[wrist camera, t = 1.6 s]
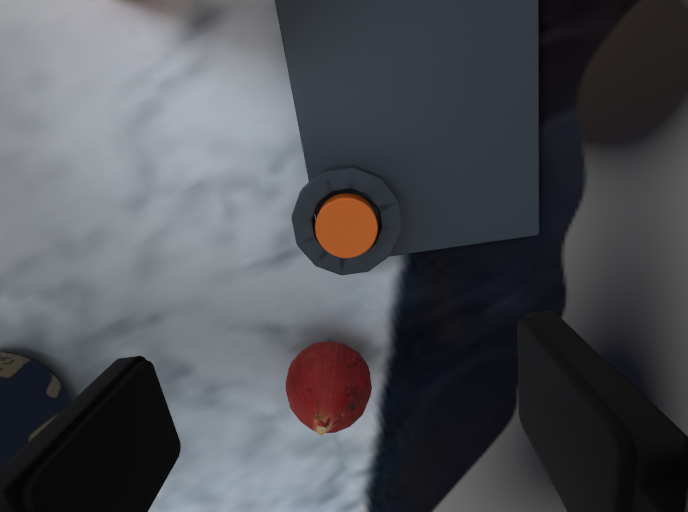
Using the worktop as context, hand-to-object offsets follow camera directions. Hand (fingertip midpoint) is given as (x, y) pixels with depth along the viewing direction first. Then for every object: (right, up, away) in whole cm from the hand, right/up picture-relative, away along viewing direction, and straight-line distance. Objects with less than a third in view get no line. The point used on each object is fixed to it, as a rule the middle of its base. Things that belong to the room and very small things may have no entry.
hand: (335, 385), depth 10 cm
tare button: (0, +5, +14) cm, 15 cm away
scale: (+5, +12, +15) cm, 19 cm away
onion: (-1, -4, +21) cm, 21 cm away
